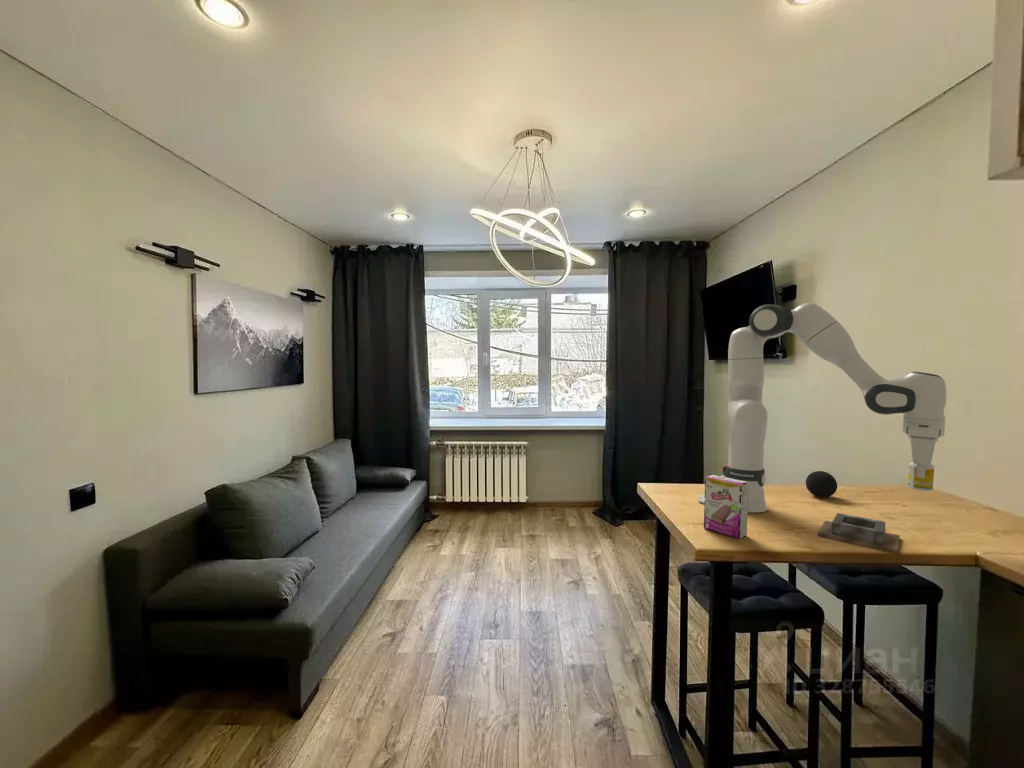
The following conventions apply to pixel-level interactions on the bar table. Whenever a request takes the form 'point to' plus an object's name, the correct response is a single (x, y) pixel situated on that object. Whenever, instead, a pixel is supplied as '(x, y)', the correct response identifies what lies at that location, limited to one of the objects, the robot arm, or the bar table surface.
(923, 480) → the supplement bottle
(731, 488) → the candy bar box
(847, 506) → the bar table surface
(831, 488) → the speaker
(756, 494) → the robot arm
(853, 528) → the holder stand
